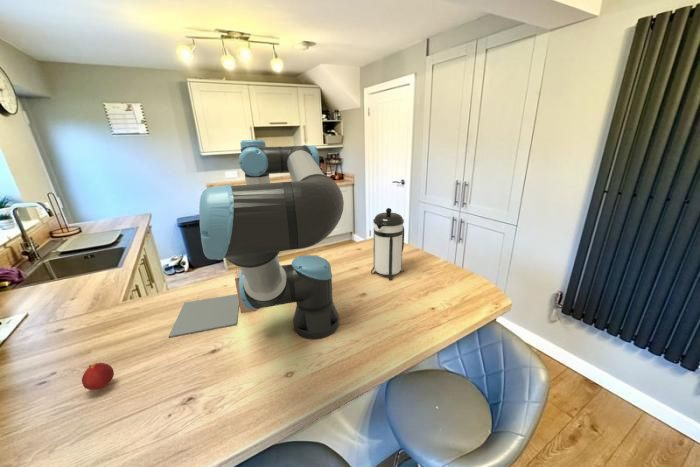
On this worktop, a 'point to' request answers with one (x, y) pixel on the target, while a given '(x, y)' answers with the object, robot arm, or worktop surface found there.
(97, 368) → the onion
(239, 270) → the tall block
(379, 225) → the coffee press
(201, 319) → the mat
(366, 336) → the worktop surface
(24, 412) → the worktop surface
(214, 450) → the worktop surface
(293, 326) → the robot arm
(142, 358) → the worktop surface
